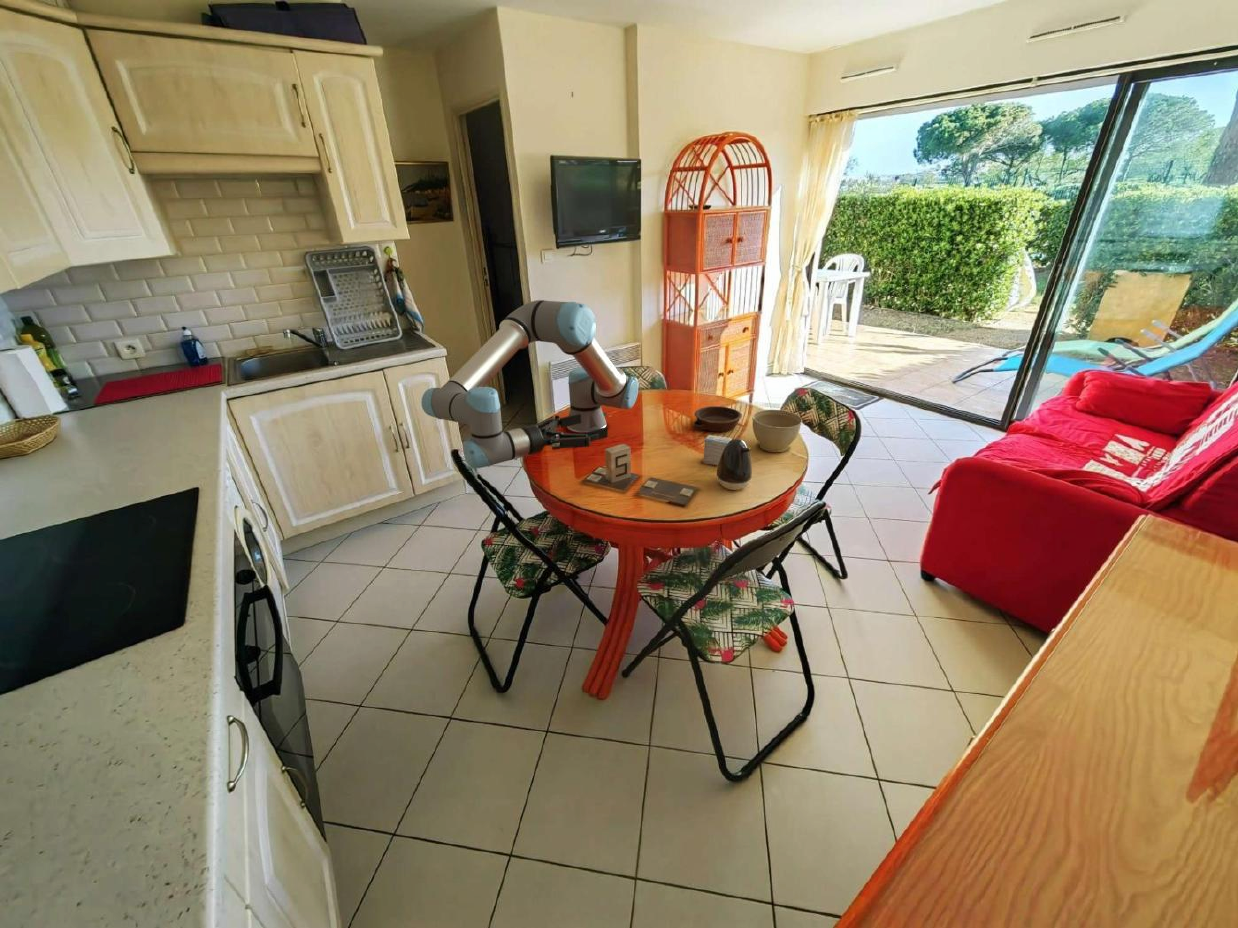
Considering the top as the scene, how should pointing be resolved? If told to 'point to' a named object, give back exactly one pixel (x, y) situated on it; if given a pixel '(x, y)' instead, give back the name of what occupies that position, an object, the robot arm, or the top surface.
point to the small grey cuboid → (618, 462)
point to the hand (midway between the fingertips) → (593, 425)
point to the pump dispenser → (735, 465)
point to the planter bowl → (775, 429)
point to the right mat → (668, 491)
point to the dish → (716, 418)
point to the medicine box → (714, 448)
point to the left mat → (600, 479)
